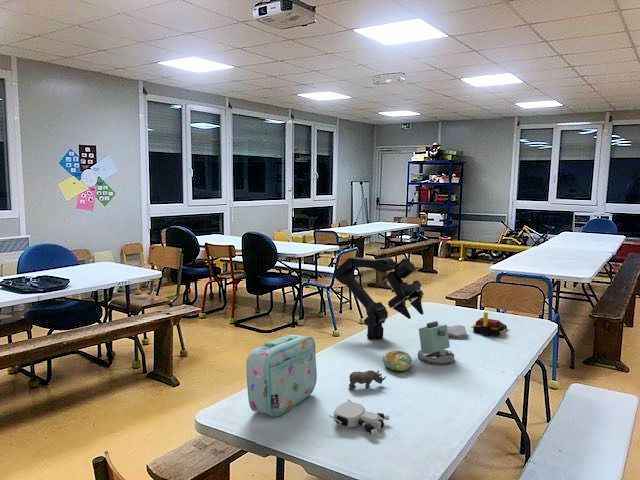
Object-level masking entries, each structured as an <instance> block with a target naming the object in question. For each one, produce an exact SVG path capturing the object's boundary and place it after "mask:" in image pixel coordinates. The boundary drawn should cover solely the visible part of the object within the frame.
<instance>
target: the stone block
mask: <svg viewBox="0 0 640 480" xmlns="http://www.w3.org/2000/svg"><path fill="white" fill-rule="evenodd" d="M447 330H448V337H449V338H450V339H451V338H452V339H459V340H462V339H467V338H468V335H467V334H468V333H467V329H466V327H465V326H464V325H462V324H456V325H455V324H454V325H451V326H448V325H447Z"/></svg>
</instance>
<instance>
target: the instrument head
mask: <svg viewBox="0 0 640 480" xmlns="http://www.w3.org/2000/svg"><path fill="white" fill-rule="evenodd" d="M447 326H448V325H447V324H439V321H438V320H434V321H432V322H428V323H426V326H424V327H419V328H418V334H419V335H418V336H419V342H420V350H421V351H422V352H431V353H434V352H437V351H440V350H443V349H444V350H447V349H449V348H451V347H450V339H449V338H450V337H448V330H447Z"/></svg>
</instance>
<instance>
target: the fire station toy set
mask: <svg viewBox="0 0 640 480" xmlns="http://www.w3.org/2000/svg"><path fill="white" fill-rule="evenodd" d="M488 316H489V312H488V311H484V312H483V317H481V318H479V319H477V320H476V321H475V323H473V324H472V325H471V326H470V328H471V329H473V333H477V334H480V336H486V337H490V336H493V337H499V336H500V335H501V334H503V333H504V332H505V331H506V330H507V329H508V325H507V324H505V323H502V321H500V320H497V319H492V318H489V317H488Z"/></svg>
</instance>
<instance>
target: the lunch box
mask: <svg viewBox="0 0 640 480" xmlns="http://www.w3.org/2000/svg"><path fill="white" fill-rule="evenodd" d="M316 353H317V352H316V343H315V340H314V338H313V337H312V336H304V335H297V334H293V333H292V334H288V335H284V336H283V337H278V338H276V339H274V340H272V341H269V342H264V344H262V345H260V346H258V347H256V348H255V349H252V351H251V352H250V353H249V354H248V356H247V358H246V386H247V388H246V389H247V399H248V404H249V407H250V409H251V411H252V412H256V413H261V414H266V415H269V416H271V417H273V418H275V417H279V416H282V415H283V414H284V413H286V412H288V411H289V410H291V409H292V408H294V407H295V406H296V405H298V404H300V403H301V402H302V401H304V400H305V399H306V398H308V397H309V396H311V395H312V394H313V392H314V390H315V387H316V385H317V378H318V377H317V376H318V375H317V373H318V370H317V357H316V356H317V355H316Z"/></svg>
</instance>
